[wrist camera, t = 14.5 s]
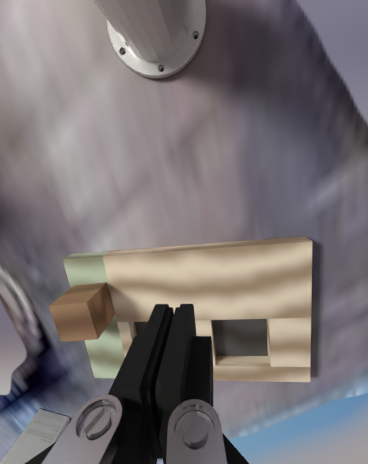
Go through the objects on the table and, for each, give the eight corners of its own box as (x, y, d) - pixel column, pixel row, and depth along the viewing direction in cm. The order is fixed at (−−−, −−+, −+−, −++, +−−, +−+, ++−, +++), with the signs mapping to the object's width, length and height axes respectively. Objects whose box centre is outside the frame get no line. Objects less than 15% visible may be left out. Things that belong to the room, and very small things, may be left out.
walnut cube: (73, 285, 38) (48, 306, 32) (106, 282, 37) (86, 302, 31) (83, 316, 39) (61, 341, 34) (115, 314, 38) (97, 339, 33)
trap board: (72, 254, 39) (62, 259, 37) (305, 236, 33) (312, 241, 31) (101, 366, 45) (94, 377, 43) (304, 369, 39) (310, 382, 37)
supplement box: (39, 430, 53) (-13, 507, 41) (40, 407, 51) (-15, 481, 39) (69, 439, 52) (25, 520, 40) (71, 416, 50) (25, 494, 38)
